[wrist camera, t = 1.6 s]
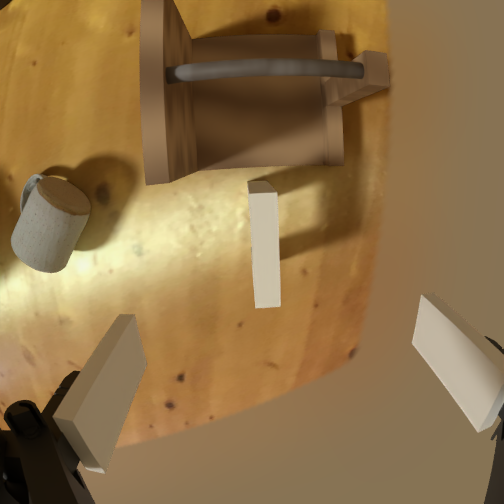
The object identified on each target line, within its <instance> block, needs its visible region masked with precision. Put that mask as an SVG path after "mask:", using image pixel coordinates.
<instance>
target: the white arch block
mask: <svg viewBox="0 0 504 504" xmlns="http://www.w3.org/2000/svg"><path fill="white" fill-rule="evenodd" d="M247 186H248V202H249V211H250V226H251V244H252V247H251V256H252V271H253V284H254V296H255V308H267V307H281V300H280V256H279V224H278V196H277V191H276V190H275V189H274V188H273V187H272V186H271V185H270V183H269V182H268V181H248V182H247Z"/></svg>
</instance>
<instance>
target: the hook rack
mask: <svg viewBox="0 0 504 504" xmlns="http://www.w3.org/2000/svg"><path fill="white" fill-rule="evenodd" d="M388 87H390V79H389V70H388V61H387V54H386V53H382V52H375V51H368V50H365V51H364V52H363V53H361V54H360V55H359V56H357V57H356V58H355V59H353V60H352V61H351V62H350V61H338V58H337V48H336V40H335V32H334V31H331V30H319V31H318V33H317V34H316V35H293V34H257V35H234V36H220V37H209V38H200V39H191V37H190V35H189V32H188V30H187V28H186V26H185V24H184V22H183V20H182V18H181V16H180V13H179V11H178V9H177V7H176V5H175V3H174V1H173V0H142V1H141V21H140V105H141V127H142V144H143V157H144V170H145V181H146V185H154V184H164V183H170V182H173V181H175V180H177V179H180V178H182V177H185V176H187V175H189V174H192V173H194V172H197V171H204V170H216V169H230V168H247V167H266V166H294V165H328V166H344V145H343V122H342V106H344V105H346V104H349V103H351V102H353V101H356V100H358V99H361V98H363V97H366V96H368V95H370V94H373V93H375V92H378V91H380V90H383V89H386V88H388Z"/></svg>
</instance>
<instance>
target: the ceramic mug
mask: <svg viewBox="0 0 504 504" xmlns="http://www.w3.org/2000/svg"><path fill="white" fill-rule="evenodd" d="M20 209H21V215H20V218H19V220H18V222H17V224H16V226H15V229H14V231H13V234H12V237H11V245H12V248H13V251H14V252H15V254H16V255H17V257H19V259H20V260H21V261H22V262H24V263H25V264H26V265H28V266H30V267H31V268H33V269H35V270H38V271H41V272H47V273H55V272H59V271H61V270H62V269H63V268H65V266H66V265H67V263H68V260H69V258H70V256H71V254H72V252H73V249H74V247H75V245H76V243H77V241H78V239H79V237H80V235H81V233H82V231H83V229H84V227H85V225H86V223H87V221H88V218H89V215H90V212H91V205H90V202H89V200H88V198H87V196H86V195H85V194H84V193H83V192H82V191H81V190H79V189H78V188H77V187H75V186H74V185H72V184H71V183H69V182H67V181H65V180H62V179H59V178H55V177H48V176H46V175H42V174H35V175H33V176H31V177H30V178H29V179H28V181H27V182H26V184H25V186H24V188H23V191H22V195H21V201H20Z"/></svg>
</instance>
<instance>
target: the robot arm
mask: <svg viewBox="0 0 504 504" xmlns="http://www.w3.org/2000/svg"><path fill="white" fill-rule="evenodd" d="M10 1H11V0H0V9H2V8H3V7H4V6H5V5H6V4H7V3H9V2H10ZM412 344H413V345H414V347H415V348H416V349H417V350H418V352H419V353H420V354H421V356H422V357H423V358H424V359H425V361H426V362H427V363H428V365H429V366H430V367H431V369H432V370H433V371H434V373H435V374H436V375H437V377H438V378H439V379H440V380H441V382H442V383H443V385H444V386H445V387H446V389H447V390H448V391H449V392H450V394H451V395H452V397H453V398H454V400H455V401H456V402H457V404H458V405H459V406H460V408H461V409H462V411H463V412H464V413H465V415H466V416H467V418H468V419H469V421H470V422H471V423H472V425H473V426H474V428H475V429H476V431H477V432H480V431H482V430H484V429H487V428H489V427H491V426H492V424H493V423H494V421H495V419H496V417H497V415H499V417H500V418H501V419H502V420H501V422H500V424H499V425H498V427H497V429H496V430H495V432H494V434H493V435H492V437H491V440H493V439H494V438H495V436H496V435H497V440H496V441H497V442H496V448H495V455H494V461H493V466H492V472H491V476H490V481H489V485H488V489H487V494H486V497H485V502H484V504H504V349H502V347H501V346H500V345H499V344H498V343H497V342H495V341H494V340H492V339H490V338H488V337H486V336H483V335H482V334H481V333H480V332H479V331H478V330H476V329H475V328H474V327H473V326H472V325H471V324H470V323H469V322H468V321H466V320H465V319H464V318H463V317H462V316H461V315H460V314H458V313H457V312H456V311H455V310H454V309H453V308H452V307H450V306H449V305H448V304H447V303H446V302H444V301H443V300H442V299H441V298H440V297H439V296H437V295H436V294H435V293H428V294H422V295H421V300H420V305H419V311H418V316H417V321H416V326H415V331H414V336H413V341H412ZM146 366H147V361H146V358H145V354H144V350H143V346H142V343H141V339H140V335H139V331H138V327H137V322H136V318H135V314H119V316H118V317H117V318H116V320H115V321H114V323H113V324H112V326H111V327H110V329H109V330H108V331H107V333H106V334H105V336H104V337H103V339H102V340H101V342H100V343H99V345H98V346H97V348H96V349H95V351H94V352H93V354H92V355H91V357H90V358H89V360H88V361H87V363H86V364H85V366H84V367H83V369H82V370H81V371H73V372H72V373H70V374H69V375H68V376H66V377H65V378H64V380H63V381H62V383H61V384H60V386H59V388H58V389H57V390H56V392H55V393H54V395H53V396H52V398H51V399H50V401H49V402H48V404H47V405H46V407H45V408H44V410H43V412H42V413H40V411H39V410H38V408H37V406H36V404H35V403H34V402H32V401H29V400H21V401H17V402H15V403H13V404H12V405H10V406H9V407H8V408H7V410H6V411H5V413H4V420H5V422H6V423H7V425H8V426H9V428H10V429H11V430H1V428H0V504H95V502H94V500H93V498H92V497H91V495H90V492H89V490H88V489H87V486H86V484H85V482H84V480H83V478H82V476H81V474H80V472H79V471H78V469H77V466H78V463H79V461H81V462H82V464H83V465H84V467H85V468H86V469H87V470H91V471H96V472H101V473H106V471H107V468H108V465H109V462H110V459H111V456H112V454H113V451H114V448H115V445H116V443H117V440H118V437H119V435H120V432H121V429H122V427H123V424H124V421H125V419H126V416H127V414H128V411H129V408H130V406H131V403H132V401H133V398H134V396H135V393H136V391H137V388H138V386H139V383H140V381H141V378H142V376H143V373H144V371H145V368H146Z"/></svg>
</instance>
